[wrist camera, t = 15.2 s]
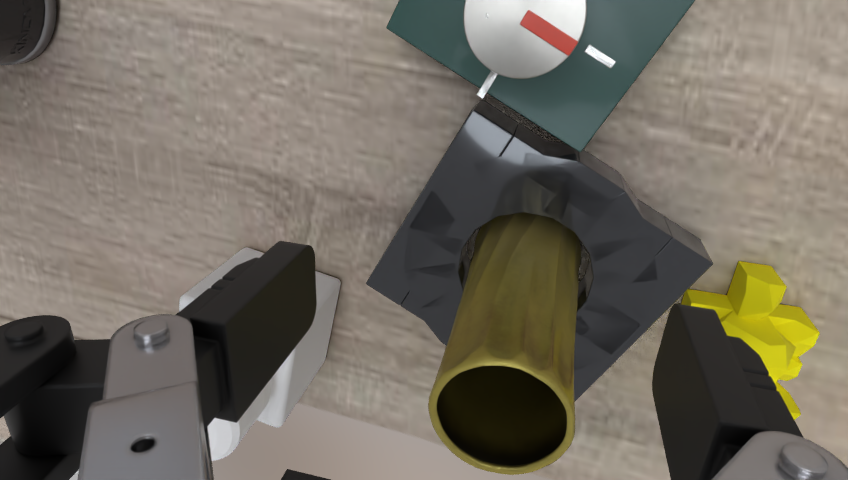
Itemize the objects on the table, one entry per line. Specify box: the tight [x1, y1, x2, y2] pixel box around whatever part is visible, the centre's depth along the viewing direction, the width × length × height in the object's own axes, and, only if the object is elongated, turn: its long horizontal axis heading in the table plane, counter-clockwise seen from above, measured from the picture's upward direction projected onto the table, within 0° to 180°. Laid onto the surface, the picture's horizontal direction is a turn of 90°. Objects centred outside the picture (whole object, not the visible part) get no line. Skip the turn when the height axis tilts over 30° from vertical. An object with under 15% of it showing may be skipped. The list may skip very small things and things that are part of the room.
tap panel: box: [387, 0, 695, 152], centre depth 25 cm, size 11×9×3 cm
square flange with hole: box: [366, 100, 713, 402], centre depth 31 cm, size 14×13×3 cm
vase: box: [428, 212, 581, 475], centre depth 26 cm, size 6×6×14 cm
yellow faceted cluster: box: [681, 261, 820, 420], centre depth 27 cm, size 6×8×8 cm
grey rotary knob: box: [463, 0, 587, 79], centre depth 22 cm, size 4×4×5 cm
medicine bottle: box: [179, 247, 341, 461], centre depth 32 cm, size 7×7×12 cm
